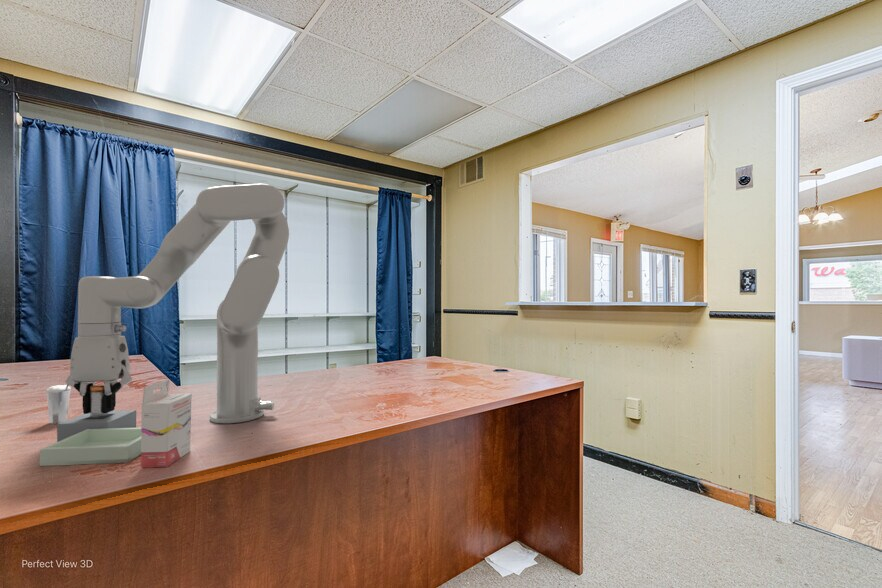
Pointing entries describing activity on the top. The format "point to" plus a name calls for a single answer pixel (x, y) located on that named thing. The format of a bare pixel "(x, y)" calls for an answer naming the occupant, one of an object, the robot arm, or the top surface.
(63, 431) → the socket block
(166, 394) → the ink cartridge box
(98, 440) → the tray
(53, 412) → the milkshake
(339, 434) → the top surface
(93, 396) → the pin
